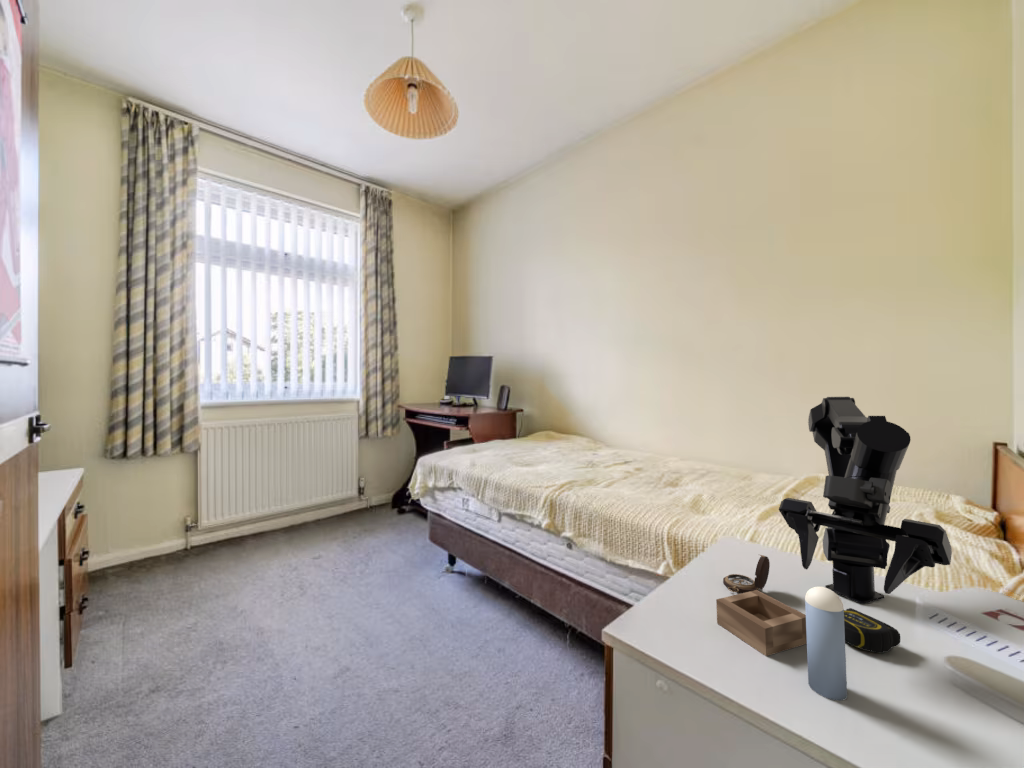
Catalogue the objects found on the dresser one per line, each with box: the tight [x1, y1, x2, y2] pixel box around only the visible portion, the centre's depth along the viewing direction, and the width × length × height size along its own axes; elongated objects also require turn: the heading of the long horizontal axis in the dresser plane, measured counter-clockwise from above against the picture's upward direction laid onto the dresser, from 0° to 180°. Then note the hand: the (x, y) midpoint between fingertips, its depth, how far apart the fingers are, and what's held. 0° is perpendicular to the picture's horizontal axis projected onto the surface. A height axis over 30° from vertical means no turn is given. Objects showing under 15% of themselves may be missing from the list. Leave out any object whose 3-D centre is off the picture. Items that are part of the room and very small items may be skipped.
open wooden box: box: [716, 589, 807, 657], centre depth 65 cm, size 9×9×4 cm
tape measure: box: [844, 607, 901, 653], centre depth 62 cm, size 7×7×4 cm
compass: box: [722, 554, 771, 594], centre depth 79 cm, size 8×8×7 cm
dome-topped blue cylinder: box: [804, 586, 848, 701], centre depth 53 cm, size 4×4×13 cm
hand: (842, 579), depth 56 cm, fingers open, 9 cm apart
